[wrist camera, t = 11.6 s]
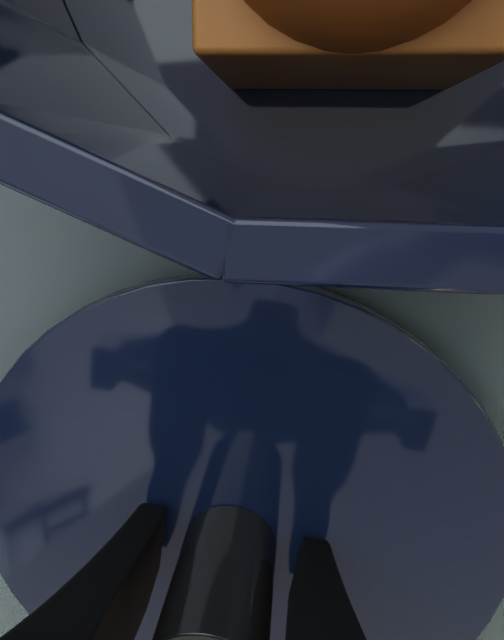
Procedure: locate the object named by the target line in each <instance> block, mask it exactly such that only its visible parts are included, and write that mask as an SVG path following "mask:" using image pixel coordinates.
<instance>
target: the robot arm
mask: <svg viewBox="0 0 504 640" xmlns="http://www.w3.org/2000/svg"><path fill="white" fill-rule="evenodd" d="M166 509H167V507H163V506H158V505H153V504H148V503H142V504H140V505H139V506H138V507H137V509H136V510H135V511H134V512H133V514H132V515H131V516H130V517H129V518H128V520H127V521H126V522H125V523H124V524H123V525H122V527H121V528H120V529H119V530H118V531H117V532H116V533H115V534H114V535H113V537H112V538H111V539H110V540H109V541H108V542H107V543H106V544H105V545H104V546H103V547H102V548H101V549H100V550H99V551H98V552H97V553H96V554H95V555H94V556H93V557H92V558H91V560H90V561H89V562H88V563H87V564H86V565H85V566H84V567H83V568H81V569H80V570H79V571H78V572H77V573H76V574H75V575H74V576H73V577H72V578H71V579H70V580H69V581H68V582H66V583H65V584H64V585H63V586H62V587H61V588H60V589H59V590H58V591H57V592H56V593H55V594H53V595H52V596H51V597H50V598H49V599H48V600H47V601H45V602H44V603H43V604H42V605H41V606H40V607H38V608H37V609H36V610H35V611H34V612H32V613H31V614H30V615H29V616H27V617H26V618H25V619H24V620H22V621H21V622H20V623H19V624H17V625H16V626H15V627H14V628H12V629H11V630H10V631H8V632H7V633H6V634H4V635H3V636H2V637H0V640H134V639H135V637H136V634H137V632H138V629H139V627H140V624H141V622H142V620H143V617H144V615H145V612H146V610H147V607H148V604H149V600H150V597H151V594H152V591H153V588H154V584H155V581H156V578H157V574H158V571H159V568H160V561H161V552H162V544H163V535H164V526H165V518H166ZM285 640H367V639H366V637H365V635H364V632H363V630H362V628H361V625H360V623H359V621H358V618H357V616H356V614H355V611H354V609H353V607H352V604H351V602H350V599H349V597H348V594H347V592H346V589H345V587H344V584H343V581H342V579H341V576H340V573H339V570H338V567H337V564H336V561H335V558H334V555H333V552H332V548H331V545H330V544H329V542H328V541H327V540H323V539H318V538H313V537H308V536H303V539H302V543H301V547H300V551H299V555H298V559H297V563H296V567H295V571H294V575H293V579H292V583H291V587H290V591H289V596H288V609H287V622H286V636H285Z"/></svg>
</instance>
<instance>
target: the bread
mask: <svg viewBox="0 0 504 640" xmlns="http://www.w3.org/2000/svg"><path fill="white" fill-rule="evenodd" d="M192 35H193V50H194V53H195V54H196V55H197V56H198V57H199V58H200V59H201V60H202V61H203V62H204V63H205V64H206V65H207V66H208V67H209V68H210V69H211V70H212V71H213V72H214V73H215V74H216V75H217V76H218V77H219V78H220V79H221V80H222V81H223V82H224V83H225V84H226V85H227V86H228V87H229V88H231V89H362V90H446V89H448V88H450V87H452V86H454V85H456V84H458V83H460V82H462V81H464V80H466V79H468V78H470V77H472V76H474V75H476V74H478V73H480V72H482V71H484V70H487V69H489V68H491V67H493V66H495V65H497V64H499V63H501V62H503V61H504V0H192Z"/></svg>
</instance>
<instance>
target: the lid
mask: <svg viewBox="0 0 504 640" xmlns="http://www.w3.org/2000/svg"><path fill="white" fill-rule="evenodd" d="M142 503H148V504H153V505H158V506H163V507H167V509H166V518H165V526H164V535H163V544H162V552H161V561H160V568H159V571H158V574H157V578H156V581H155V584H154V588H153V591H152V594H151V597H150V600H149V604H148V607H147V610H146V612H145V615H144V617H143V620H142V622H141V624H140V627H139V629H138V632H137V634H136V637H135V639H134V640H285V636H286V622H287V609H288V596H289V591H290V587H291V583H292V579H293V575H294V571H295V567H296V563H297V559H298V555H299V551H300V547H301V543H302V539H303V536H308V537H313V538H318V539H323V540H327V541H328V542H329V544H330V545H331V548H332V552H333V555H334V558H335V561H336V564H337V567H338V570H339V573H340V576H341V579H342V581H343V584H344V587H345V589H346V592H347V594H348V597H349V599H350V602H351V604H352V607H353V609H354V611H355V614H356V616H357V618H358V621H359V623H360V625H361V628H362V630H363V632H364V635H365V637H366V639H367V640H476V638H477V637H478V636H479V635H480V633H481V632H482V631H483V629H484V628H485V627H486V626H487V624H488V623H489V622H490V620H491V618H492V617H493V615H494V613H495V611H496V609H497V608H498V606H499V604H500V602H501V601H502V599H503V597H504V447H503V444H502V442H501V440H500V438H499V436H498V434H497V433H496V431H495V429H494V427H493V425H492V424H491V422H490V420H489V418H488V416H487V414H486V413H485V411H484V409H483V408H482V407H481V405H480V404H479V402H478V401H477V400H476V399H475V397H474V396H473V395H472V393H471V392H470V391H469V390H468V388H467V387H466V386H465V384H464V383H463V382H462V381H461V379H460V378H459V377H458V375H457V374H456V373H455V372H454V371H453V370H452V369H451V368H450V367H449V366H448V365H447V364H446V363H445V362H444V361H443V360H442V359H441V358H440V357H438V356H437V355H436V354H435V353H434V352H433V351H432V350H431V349H430V348H429V347H428V346H427V345H426V344H424V343H423V342H421V341H420V340H419V339H417V338H416V337H414V336H413V335H412V334H410V333H409V332H407V331H406V330H405V329H403V328H402V327H401V326H399V325H398V324H396V323H395V322H393V321H391V320H390V319H388V318H386V317H384V316H382V315H380V314H378V313H377V312H375V311H373V310H371V309H369V308H367V307H365V306H363V305H362V304H360V303H358V302H355V301H353V300H350V299H347V298H345V297H342V296H339V295H337V294H334V293H331V292H329V291H326V290H323V289H321V288H318V287H311V286H288V285H266V284H243V283H227V282H225V281H223V280H222V278H221V279H220V280H212V279H210V278H208V277H206V276H204V275H201V274H190V275H184V276H177V277H171V278H165V279H158V280H153V281H149V282H146V283H143V284H139V285H136V286H133V287H129V288H126V289H123V290H120V291H116V292H114V293H112V294H110V295H108V296H106V297H104V298H101V299H99V300H97V301H95V302H93V303H91V304H89V305H86V306H84V307H83V308H81V309H80V310H78V311H77V312H75V313H74V314H72V315H71V316H69V317H68V318H66V319H65V320H63V321H62V322H60V323H58V324H57V325H55V326H54V327H52V328H51V329H49V330H48V331H47V332H46V333H44V334H43V335H42V336H41V337H40V338H39V339H38V340H37V341H36V342H35V343H34V344H32V345H31V346H30V347H29V348H28V349H27V350H26V351H25V352H24V353H23V354H22V355H21V356H20V357H19V359H18V360H17V361H16V363H15V364H14V365H13V366H12V368H11V369H10V370H9V371H8V373H7V374H6V375H5V377H4V378H3V379H2V381H1V383H0V574H1V575H2V577H3V579H4V580H5V582H6V584H7V585H8V587H9V589H10V590H11V592H12V593H13V594H14V596H15V597H16V598H17V600H18V601H19V602H20V603H21V605H22V606H23V607H24V609H25V610H26V611H27V613H28V614H29V615H30V614H31V613H32V612H34V611H35V610H36V609H37V608H38V607H40V606H41V605H42V604H43V603H44V602H45V601H47V600H48V599H49V598H50V597H51V596H52V595H53V594H55V593H56V592H57V591H58V590H59V589H60V588H61V587H62V586H63V585H64V584H65V583H66V582H68V581H69V580H70V579H71V578H72V577H73V576H74V575H75V574H76V573H77V572H78V571H79V570H80V569H81V568H83V567H84V566H85V565H86V564H87V563H88V562H89V561H90V560H91V558H92V557H93V556H94V555H95V554H96V553H97V552H98V551H99V550H100V549H101V548H102V547H103V546H104V545H105V544H106V543H107V542H108V541H109V540H110V539H111V538H112V537H113V535H114V534H115V533H116V532H117V531H118V530H119V529H120V528H121V527H122V525H123V524H124V523H125V522H126V521H127V520H128V518H129V517H130V516H131V515H132V514H133V512H134V511H135V510H136V509H137V507H138V506H139V505H140V504H142Z"/></svg>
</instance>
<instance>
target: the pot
mask: <svg viewBox="0 0 504 640" xmlns="http://www.w3.org/2000/svg"><path fill="white" fill-rule="evenodd" d="M0 184H1V185H3V186H6V187H8V188H10V189H12V190H14V191H17V192H19V193H21V194H23V195H26V196H28V197H30V198H32V199H35V200H37V201H39V202H41V203H43V204H46V205H48V206H50V207H52V208H55V209H57V210H59V211H61V212H63V213H66V214H68V215H70V216H72V217H75V218H77V219H79V220H81V221H83V222H86V223H88V224H90V225H92V226H95V227H97V228H99V229H101V230H103V231H106V232H108V233H110V234H112V235H115V236H117V237H119V238H121V239H123V240H126V241H128V242H130V243H132V244H135V245H137V246H139V247H141V248H144V249H146V250H148V251H150V252H152V253H155V254H157V255H159V256H161V257H164V258H166V259H168V260H170V261H172V262H175V263H177V264H179V265H181V266H184V267H186V268H188V269H190V270H192V271H195V272H197V273H199V274H201V275H204V276H206V277H208V278H210V279H212V280H220V279H221V278H222V280H223V281H225V282H227V283H243V284H266V285H288V286H311V287H334V288H357V289H380V290H403V291H426V292H449V293H472V294H495V295H504V61H503V62H501V63H499V64H497V65H495V66H493V67H491V68H489V69H487V70H484V71H482V72H480V73H478V74H476V75H474V76H472V77H470V78H468V79H466V80H464V81H462V82H460V83H458V84H456V85H454V86H452V87H450V88H448V89H446V90H362V89H231V88H229V87H228V86H227V85H226V84H225V83H224V82H223V81H222V80H221V79H220V78H219V77H218V76H217V75H216V74H215V73H214V72H213V71H212V70H211V69H210V68H209V67H208V66H207V65H206V64H205V63H204V62H203V61H202V60H201V59H200V58H199V57H198V56H197V55H196V54H195V53H194V50H193V35H192V0H0Z"/></svg>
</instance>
